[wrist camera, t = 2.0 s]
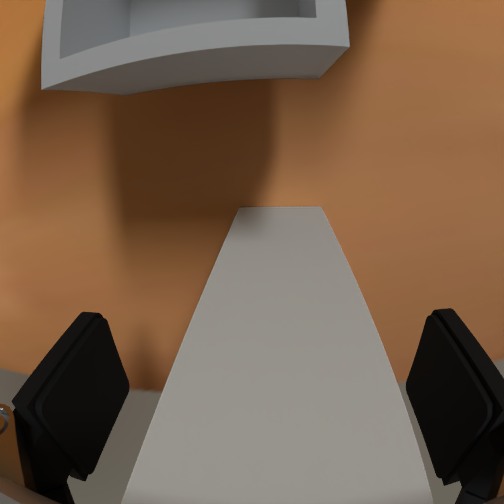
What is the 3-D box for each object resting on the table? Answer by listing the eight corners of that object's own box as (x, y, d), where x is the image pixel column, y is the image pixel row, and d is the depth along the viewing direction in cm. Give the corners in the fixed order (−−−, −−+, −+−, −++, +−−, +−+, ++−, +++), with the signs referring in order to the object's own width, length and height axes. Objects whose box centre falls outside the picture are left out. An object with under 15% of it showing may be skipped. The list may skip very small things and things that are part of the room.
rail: (321, 206, 15) (435, 508, 2) (318, 279, 17) (362, 563, 4) (239, 207, 16) (119, 507, 3) (243, 280, 17) (184, 561, 4)
